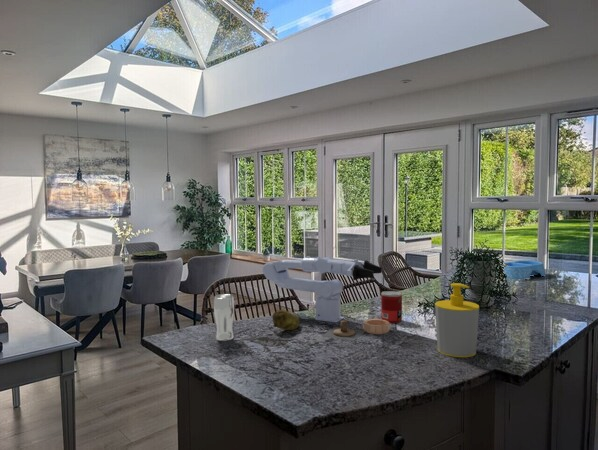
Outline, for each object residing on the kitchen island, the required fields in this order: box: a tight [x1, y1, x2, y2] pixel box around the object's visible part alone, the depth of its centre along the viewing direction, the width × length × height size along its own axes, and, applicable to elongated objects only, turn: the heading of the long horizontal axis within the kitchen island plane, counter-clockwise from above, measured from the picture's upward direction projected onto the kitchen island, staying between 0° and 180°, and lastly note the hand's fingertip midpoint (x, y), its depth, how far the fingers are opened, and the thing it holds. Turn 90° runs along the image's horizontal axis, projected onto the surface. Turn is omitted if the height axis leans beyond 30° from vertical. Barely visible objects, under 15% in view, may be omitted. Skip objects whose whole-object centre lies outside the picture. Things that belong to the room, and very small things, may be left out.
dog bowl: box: [503, 260, 547, 280], centre depth 264 cm, size 34×19×8 cm, turn 120°
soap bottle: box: [434, 282, 480, 358], centre depth 135 cm, size 13×13×21 cm
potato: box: [271, 309, 300, 331], centre depth 160 cm, size 8×13×8 cm, turn 127°
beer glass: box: [213, 293, 235, 342], centre depth 151 cm, size 7×7×15 cm
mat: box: [321, 326, 367, 342], centre depth 153 cm, size 12×12×1 cm
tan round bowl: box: [362, 318, 391, 335], centre depth 157 cm, size 9×9×3 cm
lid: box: [333, 319, 355, 337], centre depth 153 cm, size 8×8×4 cm
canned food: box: [380, 290, 403, 324], centre depth 170 cm, size 8×8×11 cm
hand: (377, 272), depth 161 cm, fingers open, 7 cm apart
